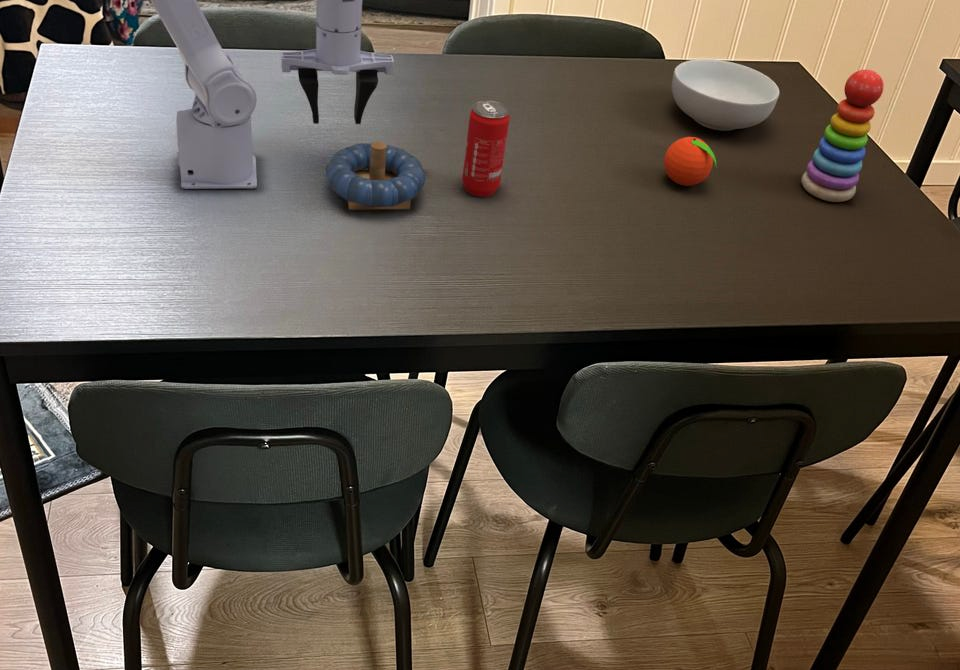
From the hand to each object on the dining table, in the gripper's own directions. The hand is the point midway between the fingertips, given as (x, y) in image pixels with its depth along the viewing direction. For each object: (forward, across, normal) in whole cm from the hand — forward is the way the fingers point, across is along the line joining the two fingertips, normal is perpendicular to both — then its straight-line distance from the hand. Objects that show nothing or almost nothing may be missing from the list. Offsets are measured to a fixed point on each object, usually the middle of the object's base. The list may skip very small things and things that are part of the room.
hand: (336, 120), depth 131 cm
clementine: (+6, +50, -8) cm, 51 cm away
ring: (+2, +4, -10) cm, 11 cm away
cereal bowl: (+6, +63, +12) cm, 64 cm away
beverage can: (+6, +19, -9) cm, 22 cm away
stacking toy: (+6, +72, -10) cm, 73 cm away
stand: (+5, +4, -10) cm, 12 cm away
